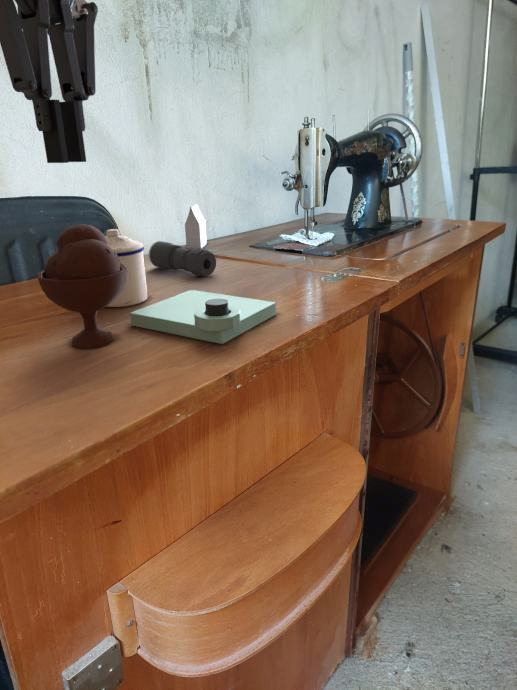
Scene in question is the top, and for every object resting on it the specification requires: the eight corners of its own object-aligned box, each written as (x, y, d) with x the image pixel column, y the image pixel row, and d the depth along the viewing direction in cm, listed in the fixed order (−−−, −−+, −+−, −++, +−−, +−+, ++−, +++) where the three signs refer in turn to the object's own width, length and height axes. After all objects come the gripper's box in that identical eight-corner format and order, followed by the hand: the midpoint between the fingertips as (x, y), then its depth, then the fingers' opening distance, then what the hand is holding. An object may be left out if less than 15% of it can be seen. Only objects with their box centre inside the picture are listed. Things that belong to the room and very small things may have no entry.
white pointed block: (206, 243, 134) (204, 204, 131) (201, 248, 128) (198, 207, 125) (192, 243, 135) (190, 204, 131) (186, 248, 129) (183, 207, 125)
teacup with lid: (153, 292, 91) (146, 224, 86) (143, 307, 82) (135, 233, 78) (84, 294, 90) (74, 226, 86) (68, 309, 82) (55, 235, 78)
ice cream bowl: (36, 340, 69) (15, 226, 64) (114, 322, 76) (100, 217, 70) (66, 363, 61) (44, 236, 56) (150, 340, 68) (137, 224, 63)
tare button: (201, 316, 67) (200, 303, 66) (214, 309, 69) (214, 297, 69) (220, 319, 66) (219, 306, 65) (233, 313, 68) (232, 300, 67)
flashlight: (219, 274, 102) (218, 247, 100) (199, 280, 98) (197, 251, 96) (170, 264, 112) (168, 239, 110) (149, 269, 108) (147, 243, 106)
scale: (126, 327, 73) (123, 303, 72) (191, 300, 85) (190, 280, 84) (224, 348, 65) (222, 321, 64) (281, 315, 77) (281, 292, 75)
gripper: (66, -57, 60) (94, 160, 68) (-66, -104, 48) (-12, 165, 56) (112, -71, 56) (136, 159, 65) (-18, -127, 44) (32, 165, 53)
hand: (67, 161), depth 60 cm, fingers open, 2 cm apart
